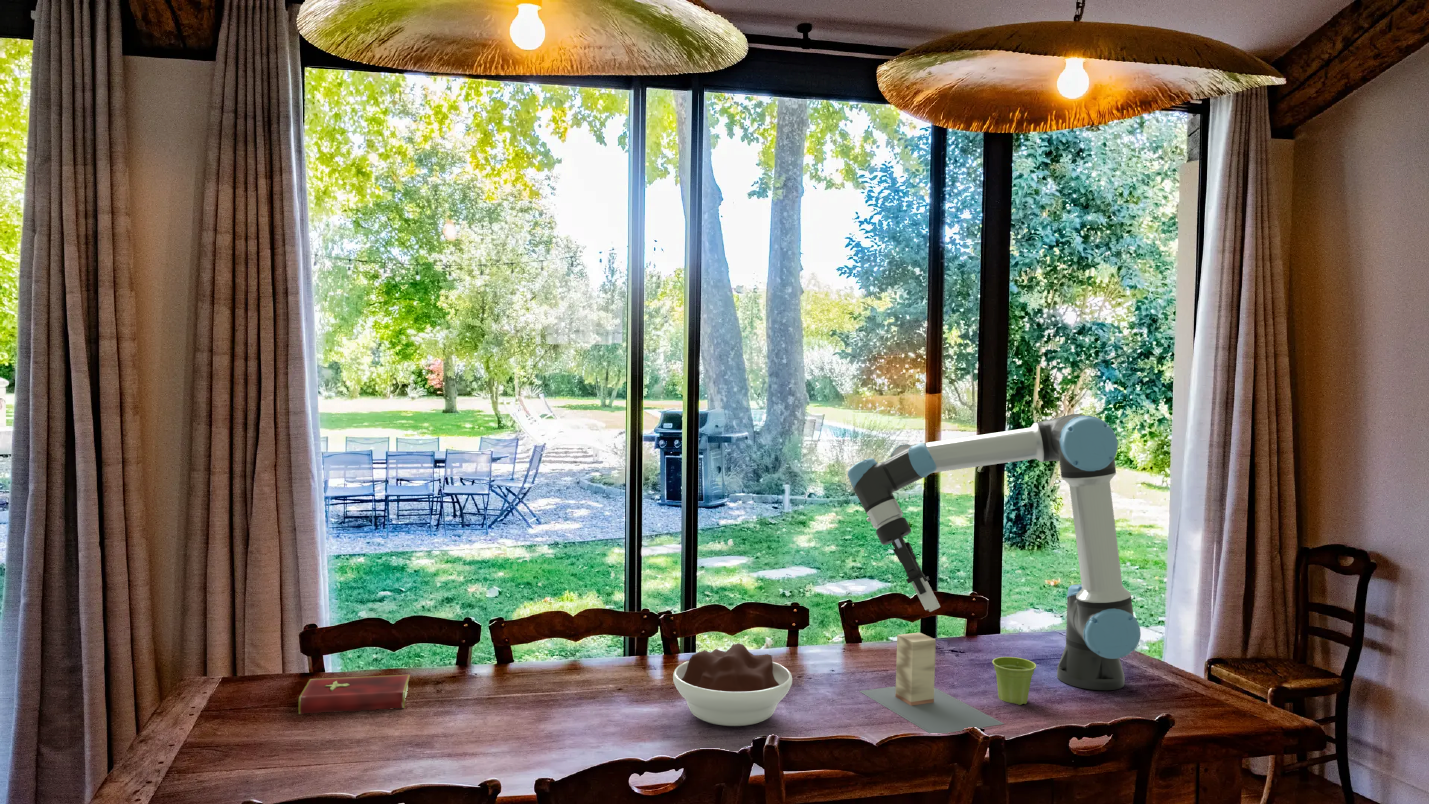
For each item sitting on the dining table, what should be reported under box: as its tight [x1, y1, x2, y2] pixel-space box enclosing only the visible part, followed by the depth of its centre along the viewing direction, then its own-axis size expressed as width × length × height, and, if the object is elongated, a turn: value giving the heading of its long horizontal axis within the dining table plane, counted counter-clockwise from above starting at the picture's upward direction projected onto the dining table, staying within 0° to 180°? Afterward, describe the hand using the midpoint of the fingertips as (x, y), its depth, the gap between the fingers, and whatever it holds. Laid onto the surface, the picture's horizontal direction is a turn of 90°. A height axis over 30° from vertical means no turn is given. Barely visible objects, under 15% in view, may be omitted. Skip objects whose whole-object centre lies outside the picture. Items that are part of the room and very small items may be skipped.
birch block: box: [895, 632, 937, 706], centre depth 216 cm, size 6×6×14 cm
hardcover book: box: [297, 674, 411, 715], centre depth 210 cm, size 12×21×4 cm, turn 102°
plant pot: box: [991, 656, 1037, 706], centre depth 219 cm, size 9×9×9 cm
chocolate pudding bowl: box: [672, 643, 793, 727], centre depth 205 cm, size 25×25×15 cm
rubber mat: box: [858, 685, 1005, 734], centre depth 212 cm, size 28×18×1 cm, turn 23°
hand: (933, 608), depth 217 cm, fingers open, 13 cm apart
